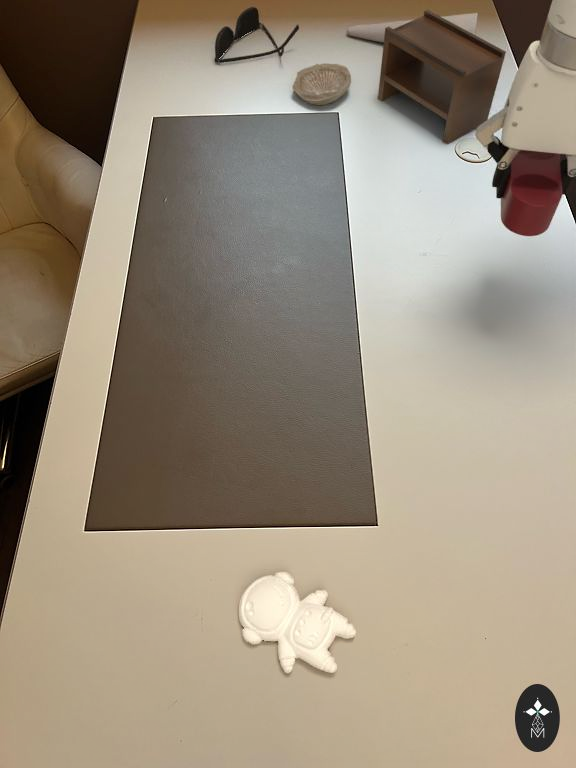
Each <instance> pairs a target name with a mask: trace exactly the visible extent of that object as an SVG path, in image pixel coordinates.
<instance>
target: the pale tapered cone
mask: <svg viewBox="0 0 576 768" xmlns="http://www.w3.org/2000/svg"><path fill="white" fill-rule="evenodd" d="M441 17H442V18H444V19H446V20H448V21H450V22H451V23H453V24H455V25H457V26H459V27H461V28H463V29H465V30H466V31H468V32H470V33H472V34H474V35H476V36H477V27H478V19H479V12H472V13H471V12H470V13H462V14H461V13H460V14H453V15H446V16H441ZM413 20H414V19H407V20H398V21H397V20H396V21H388V22H387V21H386V22H379V23H370V24H358V25H353V26H349V27H347V29H346V34H347V35H348V36H350V37H353V38H354V37H355V38H358V39H362V40H363V39H364V40H367V41H373V42H379V43H382V44H384V35H385V28H386V27H390V28H392V29H395V28H397V27H399V26H401V25H404V24H406V23H408V22H411V21H413Z"/></svg>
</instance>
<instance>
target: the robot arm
mask: <svg viewBox="0 0 576 768" xmlns="http://www.w3.org/2000/svg"><path fill="white" fill-rule="evenodd" d="M500 130H501V136H500V138H499V137H498V136H495V133H497V132H498V131H500ZM475 138H476V139H477V140H478V141H479V142H480V144H481V145H482V146H483V147H485V149H487V153H488V154H489V155H490V156H491V158H492V159H493V161H494V162H495V163H496V167H495V170H494V173H493V176H492V180H491V187H492V188H495V189H496V190H495V191H496V192H495V193H496V194H495V198H496V199H500V200H501V197H503V195H504V191H505V188H506V185H507V182H508V179H509V176H510V173H511V162H512V161H513V160H514V159H515V157H516V156H517V155H518V154H519V152H520V151H521V150H528V151H537V152H548V153H558V154H560V155H566V156H565V159H561V160H560V169H561V179H562V196H563V195H564V196H565V195H566V194H567V192H568V189H569V187H570V184H571V183H572V180H573V178H574V177H576V0H552V1H551V3H550V7H549V11H548V14H547V17H546V20H545V23H544V27H543V30H542V33H541V36H540V39H539V40H535V41H532V42H531V43H530V45H529V46H528V48H527V49H526V52H525V54H524V56H523V58H522V60H521V62H520V64H519V67H518V69H517V71H516V74H515V76H514V79H513V82H512V83H511V87H510V89H509V92H508V94H507V98H506V101H505V103H504V106H503V108H501V110H499V111H497V112H496V113H495V114H493V115H492V116H491V117H488V120H486V121H485V122H484V123H482V124H481V125H479V126H478V127H477V128H476V129H475Z"/></svg>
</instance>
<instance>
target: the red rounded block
mask: <svg viewBox="0 0 576 768" xmlns="http://www.w3.org/2000/svg"><path fill="white" fill-rule="evenodd" d="M560 155H561V154H558V153H548V152H537V151H528V150H521V151H520V152H519V154H518V155H517V156H516V157H515V159H514V160H513V161H512V162H511V173H510V176H509V179H508V182H507V185H506V188H505V191H504V195H503V197H501V199H500V221H501V223H502V225H503V226H504V227H505V228H506V229H507V230H508V231H510V232H511V233H513V234H516V235H519V236H524V237H535V236H540V235H542V234H544V233H545V232H547V231H548V230H549V228H550V225H551V224H552V221H553V219H554V216H555V214H556V212H557V210H558V207H559V205H560V202H561V201H562V198H563V194H562V179H561V169H560V162H561V156H560Z"/></svg>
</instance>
